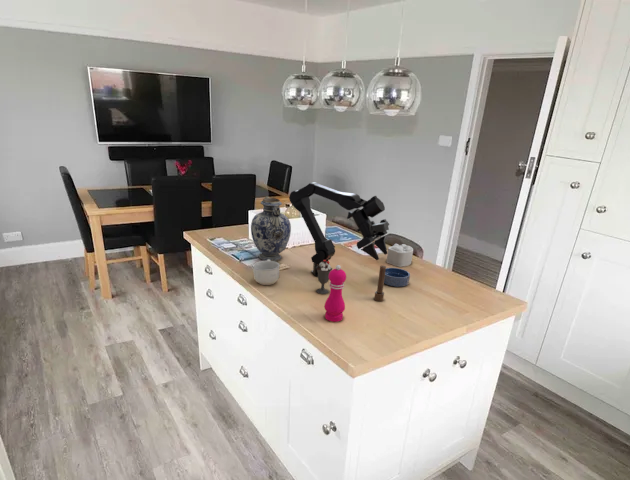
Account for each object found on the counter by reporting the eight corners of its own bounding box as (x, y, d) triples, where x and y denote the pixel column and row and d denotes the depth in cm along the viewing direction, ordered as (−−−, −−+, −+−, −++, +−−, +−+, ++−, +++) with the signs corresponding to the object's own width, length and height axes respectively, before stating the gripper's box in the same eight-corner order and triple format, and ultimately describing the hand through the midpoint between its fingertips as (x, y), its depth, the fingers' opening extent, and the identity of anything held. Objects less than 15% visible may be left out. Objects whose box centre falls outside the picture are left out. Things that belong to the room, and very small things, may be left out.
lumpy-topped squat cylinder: (383, 261, 208) (385, 244, 205) (400, 257, 216) (402, 241, 213) (399, 267, 201) (402, 250, 198) (416, 263, 209) (419, 246, 206)
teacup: (274, 289, 168) (274, 270, 164) (248, 285, 169) (248, 266, 166) (284, 277, 180) (284, 259, 177) (260, 273, 182) (260, 256, 179)
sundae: (332, 290, 171) (335, 255, 165) (327, 296, 165) (330, 260, 159) (317, 287, 173) (320, 252, 166) (311, 292, 167) (314, 257, 161)
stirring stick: (376, 301, 163) (380, 268, 158) (372, 297, 167) (376, 265, 161) (384, 301, 165) (389, 267, 159) (380, 297, 168) (385, 264, 162)
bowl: (388, 288, 177) (389, 278, 175) (376, 277, 187) (377, 268, 185) (413, 286, 180) (415, 277, 179) (400, 276, 191) (402, 267, 189)
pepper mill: (322, 313, 151) (326, 261, 143) (342, 313, 152) (347, 261, 144) (324, 322, 145) (328, 268, 136) (345, 322, 145) (350, 269, 137)
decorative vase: (295, 263, 196) (298, 204, 185) (257, 266, 189) (257, 205, 178) (282, 249, 214) (283, 194, 202) (246, 251, 207) (246, 194, 195)
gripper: (370, 217, 156) (390, 254, 157) (388, 209, 171) (406, 242, 172) (347, 231, 162) (367, 266, 163) (366, 222, 178) (384, 254, 179)
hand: (382, 256), depth 169 cm, fingers open, 9 cm apart
